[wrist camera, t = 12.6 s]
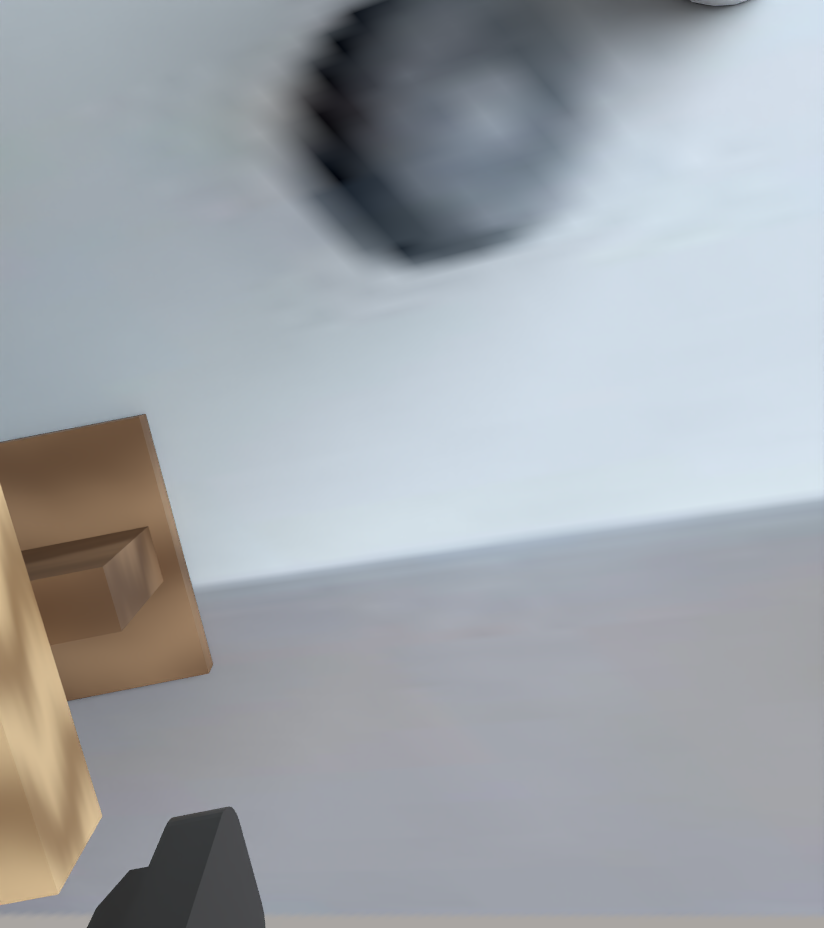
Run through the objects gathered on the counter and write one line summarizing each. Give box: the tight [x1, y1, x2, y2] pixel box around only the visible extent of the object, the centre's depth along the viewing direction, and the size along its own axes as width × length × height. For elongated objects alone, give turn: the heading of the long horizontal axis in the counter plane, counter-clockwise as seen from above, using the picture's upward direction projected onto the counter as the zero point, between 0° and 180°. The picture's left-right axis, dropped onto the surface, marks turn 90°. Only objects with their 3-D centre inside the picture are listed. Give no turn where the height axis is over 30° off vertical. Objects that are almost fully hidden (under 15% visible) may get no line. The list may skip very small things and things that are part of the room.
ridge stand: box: [0, 414, 213, 701], centre depth 34 cm, size 14×13×7 cm
